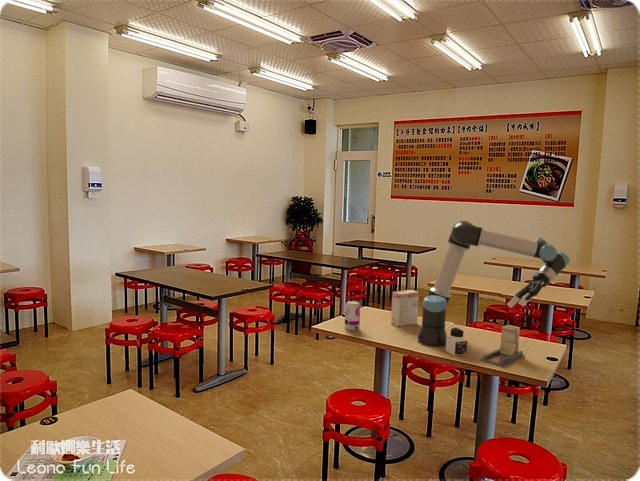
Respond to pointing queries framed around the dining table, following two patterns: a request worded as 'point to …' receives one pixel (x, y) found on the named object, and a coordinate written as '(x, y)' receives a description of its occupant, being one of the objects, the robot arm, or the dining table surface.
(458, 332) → the medicine bottle
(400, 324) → the coffeecake box
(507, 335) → the birch block
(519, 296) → the robot arm
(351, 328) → the supplement can
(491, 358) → the guide track
